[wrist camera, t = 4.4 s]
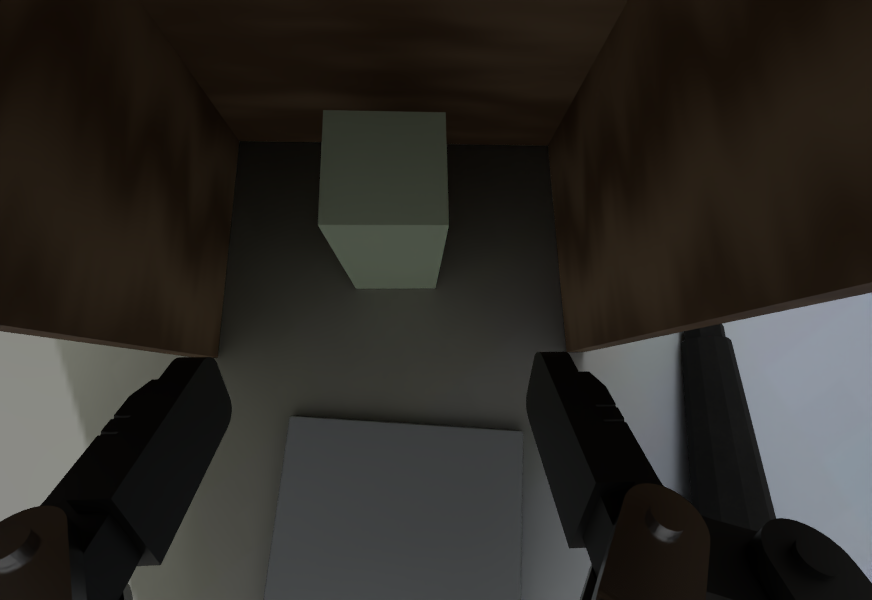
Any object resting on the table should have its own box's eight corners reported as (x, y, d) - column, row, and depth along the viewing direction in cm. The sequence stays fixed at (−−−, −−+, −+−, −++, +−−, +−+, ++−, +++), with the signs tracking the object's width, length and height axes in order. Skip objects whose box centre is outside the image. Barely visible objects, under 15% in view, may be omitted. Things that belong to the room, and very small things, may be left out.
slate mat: (520, 430, 21) (523, 431, 20) (516, 649, 19) (519, 657, 18) (293, 415, 20) (289, 416, 20) (261, 638, 18) (256, 646, 18)
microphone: (633, 293, 26) (669, 667, 20) (656, 254, 21) (716, 746, 14) (727, 292, 25) (802, 695, 18) (777, 250, 20) (907, 793, 13)
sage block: (433, 215, 23) (445, 112, 15) (435, 288, 22) (448, 225, 14) (357, 214, 23) (323, 110, 14) (356, 288, 22) (317, 225, 13)
